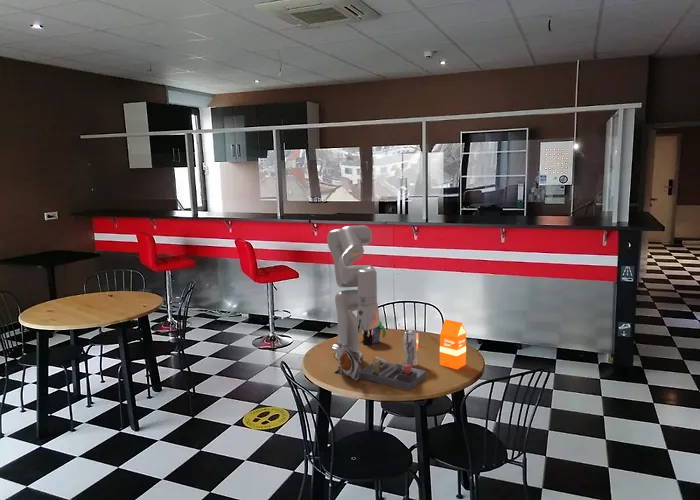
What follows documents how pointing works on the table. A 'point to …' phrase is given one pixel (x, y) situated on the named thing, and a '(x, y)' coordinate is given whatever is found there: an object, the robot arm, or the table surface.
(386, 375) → the panel
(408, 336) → the beer glass
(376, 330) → the snack cup
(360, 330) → the robot arm
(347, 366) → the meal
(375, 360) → the brass slider
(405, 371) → the button
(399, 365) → the steel slider
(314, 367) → the table surface
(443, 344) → the orange juice
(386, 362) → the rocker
